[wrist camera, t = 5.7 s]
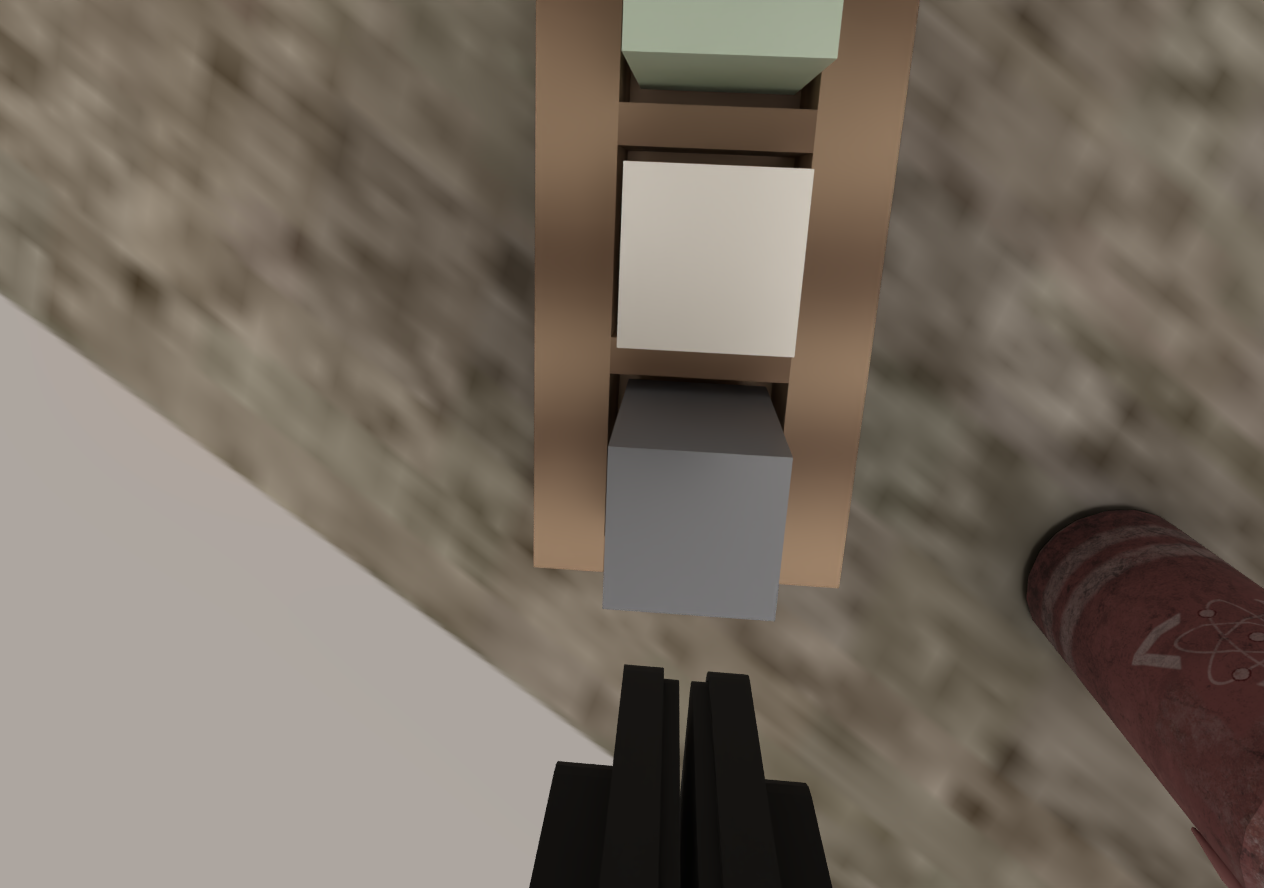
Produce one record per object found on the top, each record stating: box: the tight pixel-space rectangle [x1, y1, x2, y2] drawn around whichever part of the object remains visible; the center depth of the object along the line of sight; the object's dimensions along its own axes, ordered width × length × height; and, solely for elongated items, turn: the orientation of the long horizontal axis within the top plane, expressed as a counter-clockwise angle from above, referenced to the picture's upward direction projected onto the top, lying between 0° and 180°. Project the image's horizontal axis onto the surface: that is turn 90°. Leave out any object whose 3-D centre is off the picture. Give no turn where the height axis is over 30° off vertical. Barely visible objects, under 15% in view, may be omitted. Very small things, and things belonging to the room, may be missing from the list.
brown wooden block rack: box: [534, 0, 920, 588], centre depth 25 cm, size 21×10×5 cm, turn 178°
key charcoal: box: [603, 379, 793, 621], centre depth 23 cm, size 4×4×7 cm
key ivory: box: [617, 161, 814, 357], centre depth 22 cm, size 4×4×7 cm
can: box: [1027, 510, 1264, 888], centre depth 24 cm, size 6×6×14 cm
